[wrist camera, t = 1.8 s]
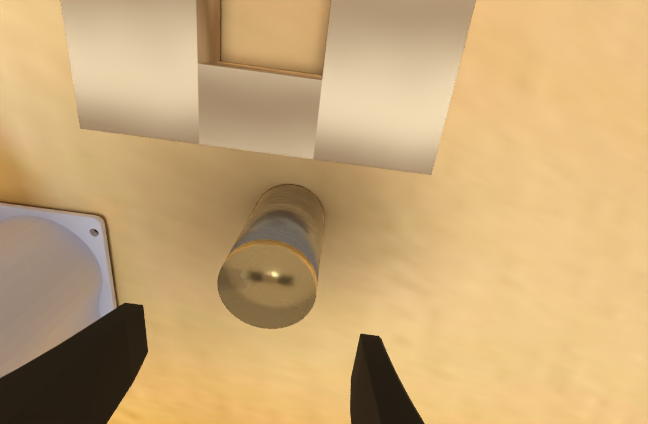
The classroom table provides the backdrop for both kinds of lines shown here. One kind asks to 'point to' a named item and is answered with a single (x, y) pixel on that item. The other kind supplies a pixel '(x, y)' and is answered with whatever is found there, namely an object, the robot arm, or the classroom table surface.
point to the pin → (275, 260)
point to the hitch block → (272, 80)
